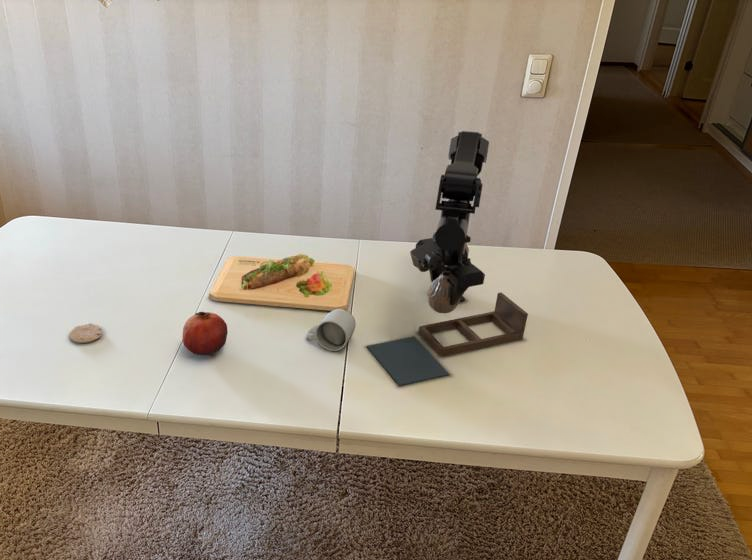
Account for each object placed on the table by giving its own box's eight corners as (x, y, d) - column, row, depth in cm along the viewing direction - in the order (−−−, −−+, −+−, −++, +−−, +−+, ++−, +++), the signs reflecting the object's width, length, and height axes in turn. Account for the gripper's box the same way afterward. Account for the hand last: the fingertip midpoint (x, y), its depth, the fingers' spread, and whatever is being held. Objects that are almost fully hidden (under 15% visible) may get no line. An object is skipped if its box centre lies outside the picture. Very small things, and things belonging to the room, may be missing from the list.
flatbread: (100, 343, 168) (99, 339, 168) (67, 345, 168) (66, 341, 167) (104, 325, 175) (103, 321, 174) (72, 326, 175) (71, 323, 174)
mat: (366, 347, 166) (366, 345, 166) (413, 337, 169) (414, 336, 169) (399, 386, 153) (399, 384, 153) (449, 375, 157) (449, 373, 156)
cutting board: (354, 270, 197) (356, 245, 193) (345, 314, 178) (347, 286, 174) (229, 260, 203) (228, 236, 199) (207, 302, 184) (205, 275, 180)
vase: (458, 318, 157) (464, 282, 152) (425, 315, 158) (430, 279, 153) (458, 302, 162) (463, 267, 157) (426, 300, 163) (430, 265, 158)
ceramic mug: (356, 336, 170) (358, 307, 165) (346, 354, 163) (347, 325, 159) (314, 328, 173) (314, 299, 169) (302, 345, 167) (302, 316, 163)
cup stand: (418, 333, 171) (421, 307, 167) (496, 317, 176) (501, 292, 172) (441, 357, 162) (445, 330, 158) (522, 339, 168) (528, 313, 164)
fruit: (192, 368, 160) (189, 329, 154) (176, 346, 167) (172, 308, 161) (236, 355, 164) (234, 317, 158) (218, 334, 171) (216, 297, 165)
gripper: (396, 219, 155) (390, 284, 163) (441, 255, 140) (432, 324, 149) (442, 211, 158) (434, 276, 166) (491, 246, 143) (479, 315, 152)
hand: (443, 297), depth 158 cm, fingers closed on vase, 7 cm apart
